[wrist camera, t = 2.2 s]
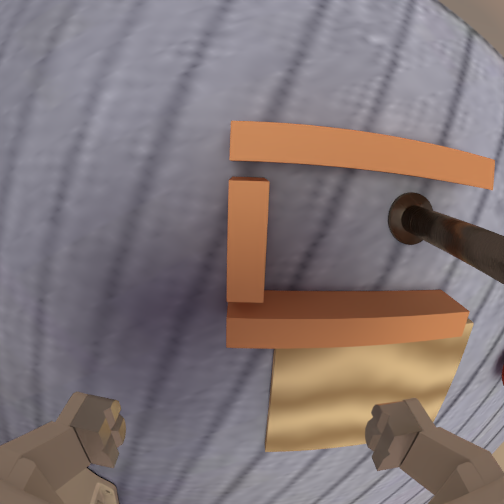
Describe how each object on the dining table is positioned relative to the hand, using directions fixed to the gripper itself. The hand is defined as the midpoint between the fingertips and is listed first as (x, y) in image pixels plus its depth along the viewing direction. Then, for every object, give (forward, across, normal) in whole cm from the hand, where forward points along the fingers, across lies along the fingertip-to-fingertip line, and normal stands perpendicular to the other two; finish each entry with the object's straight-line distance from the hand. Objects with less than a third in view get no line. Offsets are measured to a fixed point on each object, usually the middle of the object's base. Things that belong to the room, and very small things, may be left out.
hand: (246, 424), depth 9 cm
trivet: (+17, +13, -14) cm, 26 cm away
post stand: (+17, +14, +4) cm, 22 cm away
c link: (+17, +9, +2) cm, 19 cm away
